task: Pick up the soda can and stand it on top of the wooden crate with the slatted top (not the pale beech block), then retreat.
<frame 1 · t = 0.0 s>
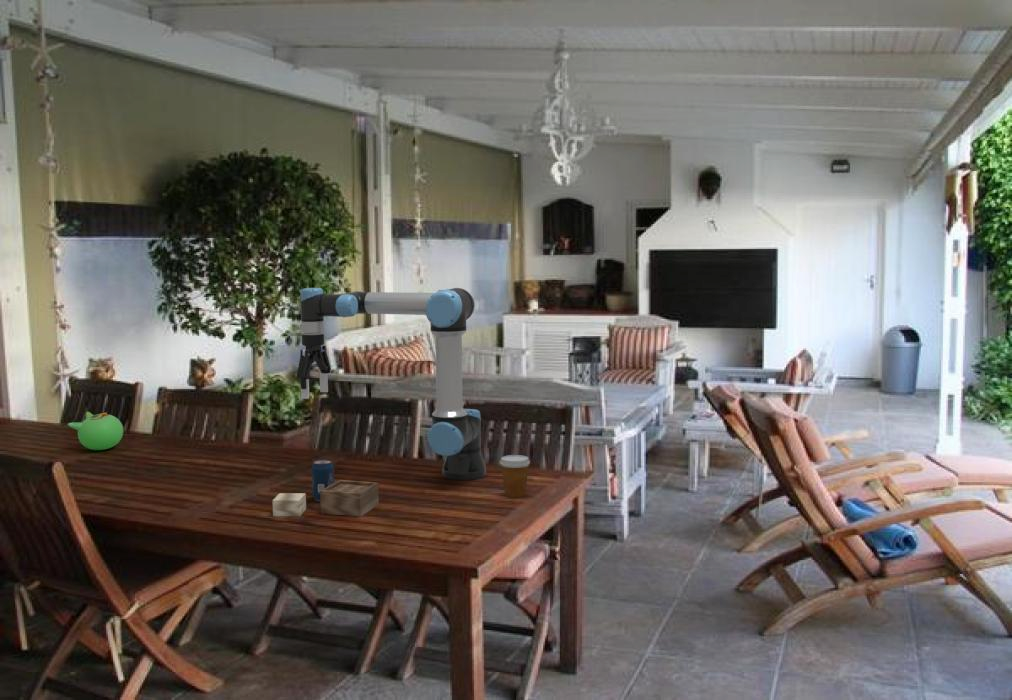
hand: (314, 395, 328), 28 cm above the table, fingers open, 13 cm apart
beech block: (289, 513, 287), on the table
disposable coffee cup: (515, 495, 304), on the table
toy bird: (100, 449, 374), on the table
soda can: (323, 499, 301), on the table
wooden crate: (350, 508, 290), on the table
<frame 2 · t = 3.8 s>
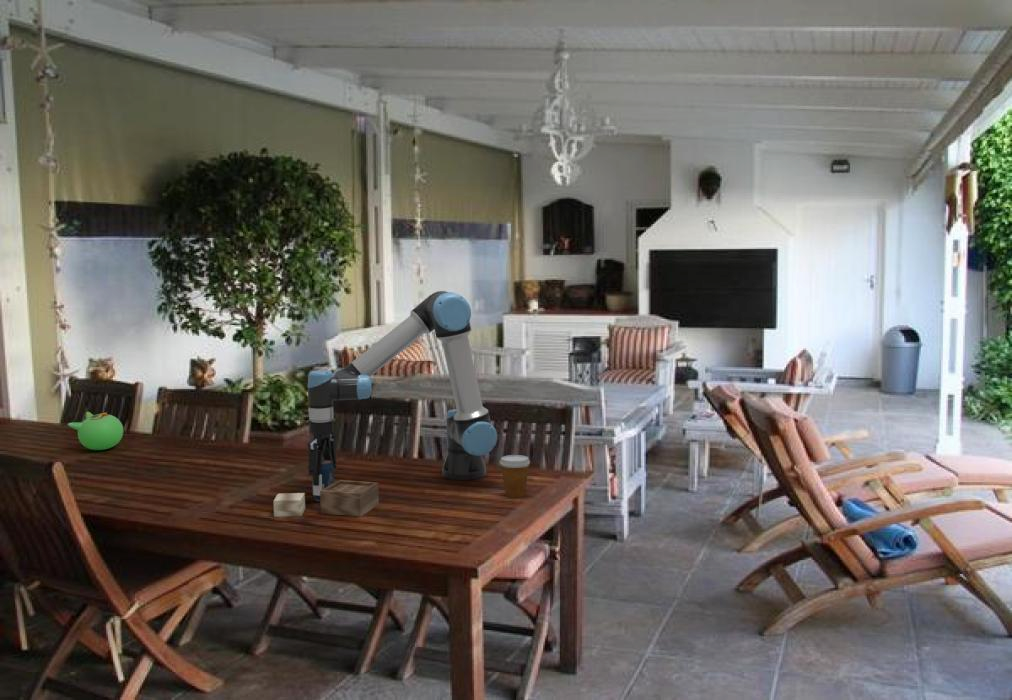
hand: (323, 491, 301), 2 cm above the table, fingers closed on soda can, 7 cm apart
soda can: (323, 499, 301), on the table, touching gripper
everything else where it was.
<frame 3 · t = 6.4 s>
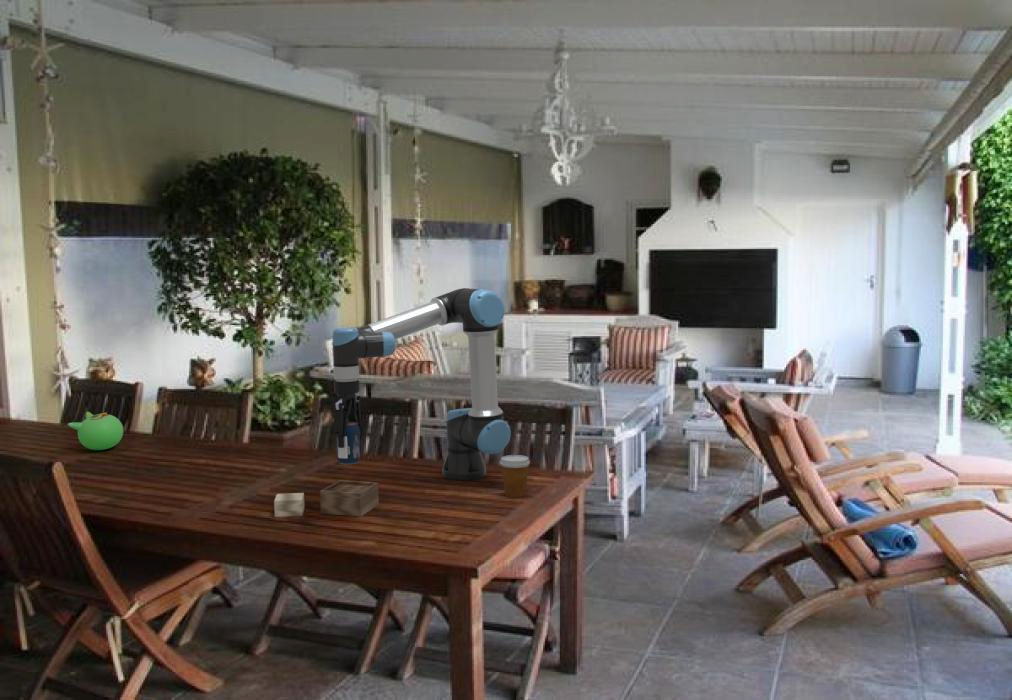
hand: (348, 455, 288), 17 cm above the table, fingers closed on soda can, 7 cm apart
soda can: (348, 463, 288), point 14 cm above the table, touching gripper
everything else where it was.
when the fingers open (9 cm above the table, at t = 9.4 s): soda can stays where it is, resting on wooden crate.
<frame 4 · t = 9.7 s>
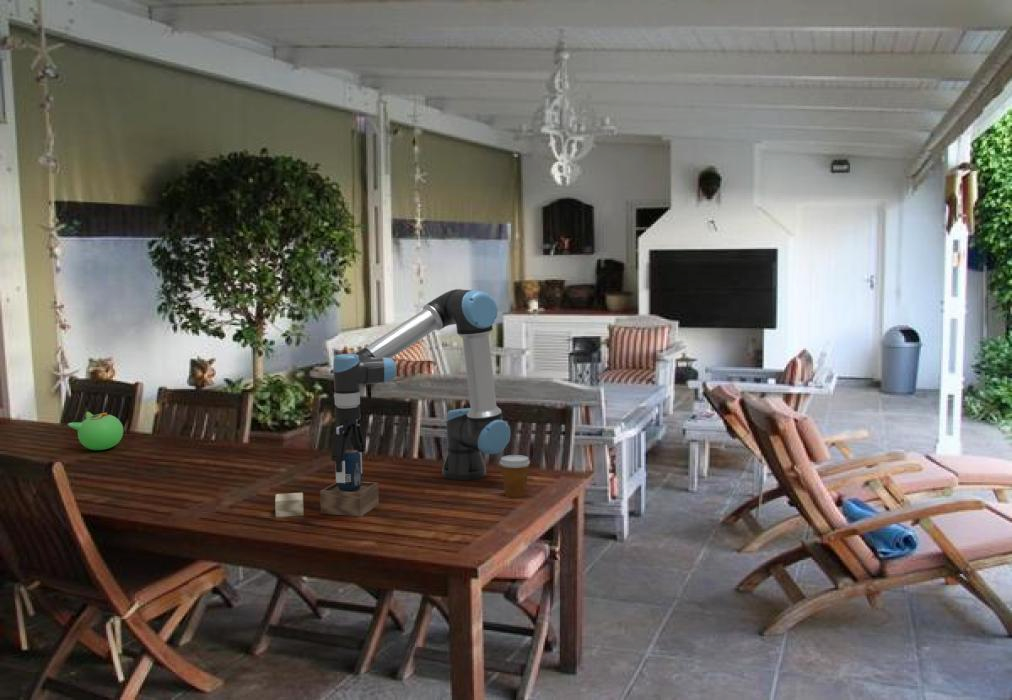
hand: (349, 477, 289), 10 cm above the table, fingers open, 11 cm apart
soda can: (349, 490, 289), point 6 cm above the table, touching wooden crate
everything else where it was.
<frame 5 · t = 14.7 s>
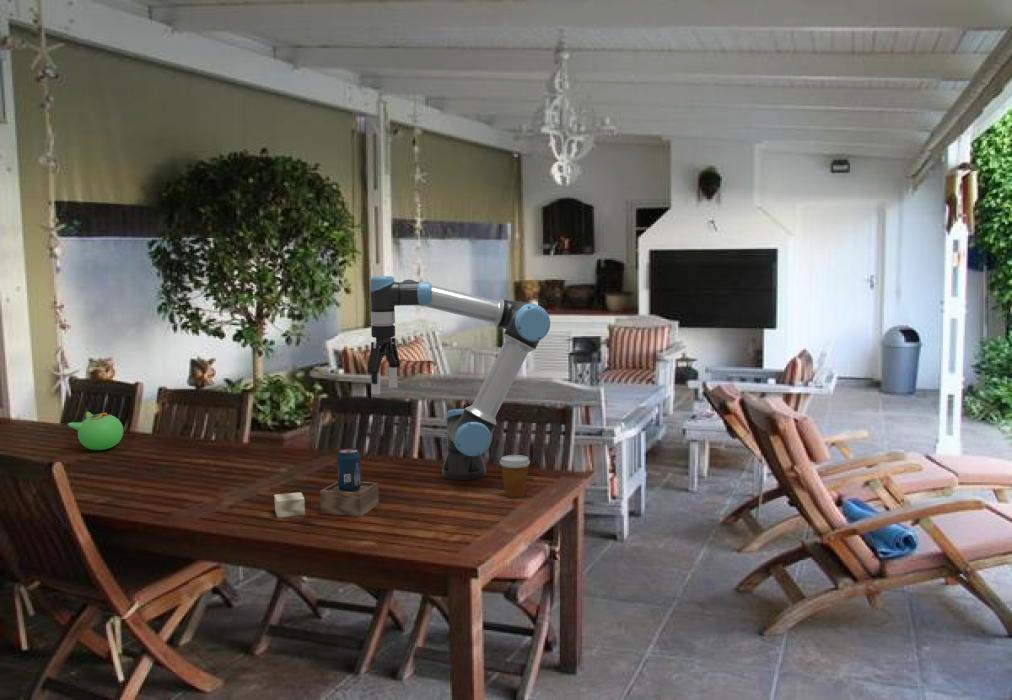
hand: (384, 390, 307), 33 cm above the table, fingers open, 13 cm apart
nothing on the table moved.
at the end: soda can inside the target area on the wooden crate (0.1 cm from its centre), point 5.8 cm above the wooden crate's base; soda can tilted 0°; the gripper is holding nothing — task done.
